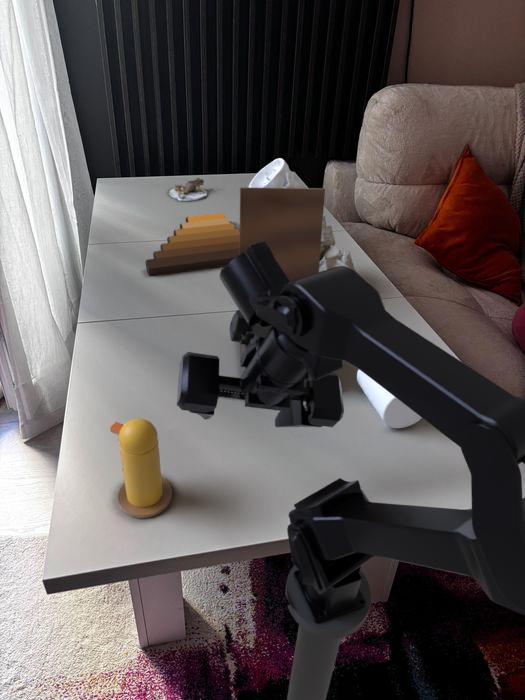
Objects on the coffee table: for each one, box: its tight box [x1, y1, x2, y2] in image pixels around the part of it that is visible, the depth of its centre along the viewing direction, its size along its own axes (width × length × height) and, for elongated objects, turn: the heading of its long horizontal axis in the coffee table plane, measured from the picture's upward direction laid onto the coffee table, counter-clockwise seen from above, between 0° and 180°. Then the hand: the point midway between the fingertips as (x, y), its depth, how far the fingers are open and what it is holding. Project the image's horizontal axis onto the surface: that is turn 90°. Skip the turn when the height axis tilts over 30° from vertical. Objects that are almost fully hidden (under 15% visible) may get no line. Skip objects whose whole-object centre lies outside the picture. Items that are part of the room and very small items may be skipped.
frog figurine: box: [168, 177, 208, 202], centre depth 164 cm, size 12×12×4 cm
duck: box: [109, 417, 163, 507], centre depth 69 cm, size 6×5×12 cm
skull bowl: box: [248, 157, 301, 188], centre depth 164 cm, size 10×14×12 cm
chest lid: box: [239, 186, 326, 281], centre depth 100 cm, size 20×15×4 cm
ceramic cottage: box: [319, 214, 356, 272], centre depth 117 cm, size 16×16×15 cm
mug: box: [356, 369, 423, 429], centre depth 88 cm, size 12×10×8 cm
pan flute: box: [145, 212, 240, 277], centre depth 134 cm, size 25×3×25 cm
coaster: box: [117, 475, 173, 519], centre depth 73 cm, size 7×7×1 cm
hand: (241, 419), depth 69 cm, fingers open, 9 cm apart
